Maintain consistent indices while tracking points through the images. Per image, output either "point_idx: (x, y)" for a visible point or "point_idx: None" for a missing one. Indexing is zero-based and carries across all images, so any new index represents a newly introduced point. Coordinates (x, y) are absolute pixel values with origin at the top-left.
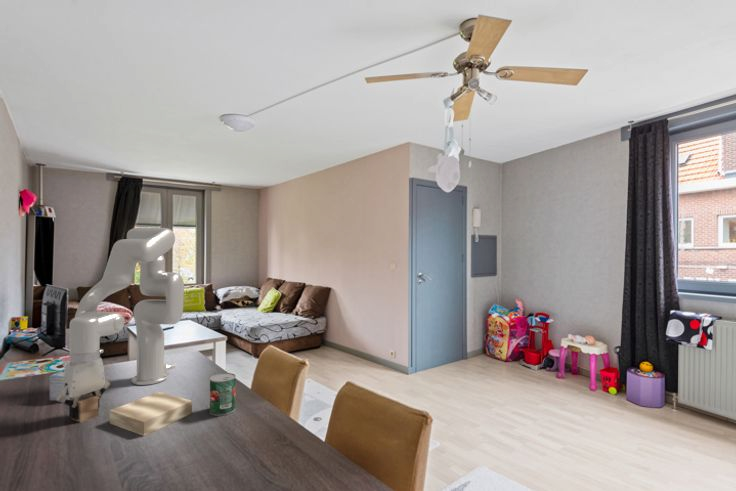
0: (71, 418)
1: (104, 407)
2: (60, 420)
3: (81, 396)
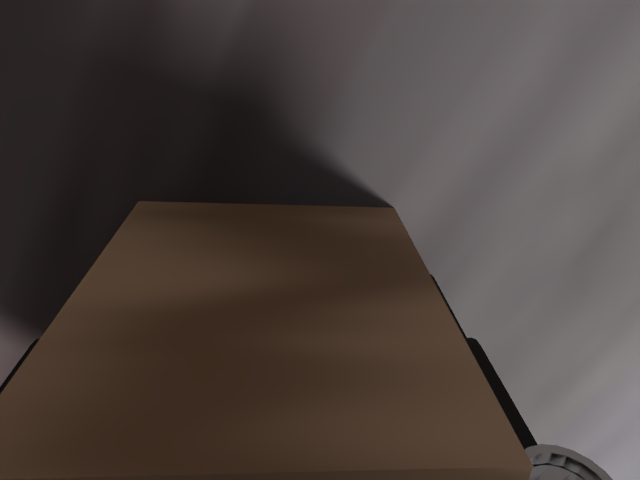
0: (136, 213)
1: (595, 234)
2: (9, 96)
3: (291, 477)
